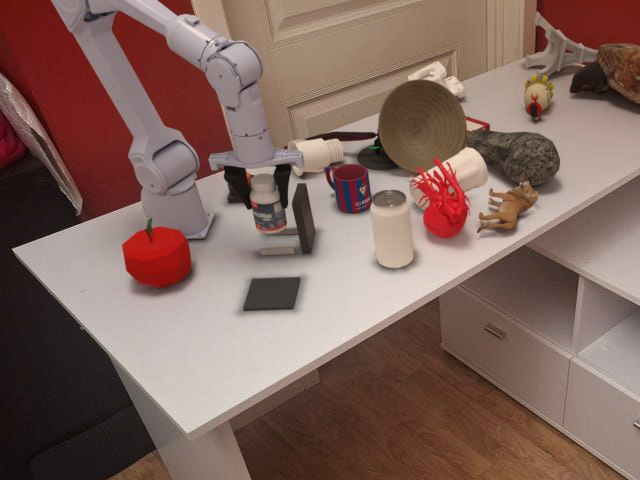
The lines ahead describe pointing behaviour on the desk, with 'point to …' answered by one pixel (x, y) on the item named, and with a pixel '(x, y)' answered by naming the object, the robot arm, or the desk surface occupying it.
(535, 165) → the decorative stone
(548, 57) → the eiffel tower
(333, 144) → the downlight
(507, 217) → the lion figurine
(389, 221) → the can
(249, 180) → the button
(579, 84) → the sculpture
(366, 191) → the cup
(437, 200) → the heart organ
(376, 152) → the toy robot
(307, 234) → the upright grey panel
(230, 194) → the block
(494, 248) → the desk surface
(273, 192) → the pill bottle
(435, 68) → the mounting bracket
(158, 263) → the apple
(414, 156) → the bowl
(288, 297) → the coaster
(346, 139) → the toy
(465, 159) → the cup
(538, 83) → the toy
